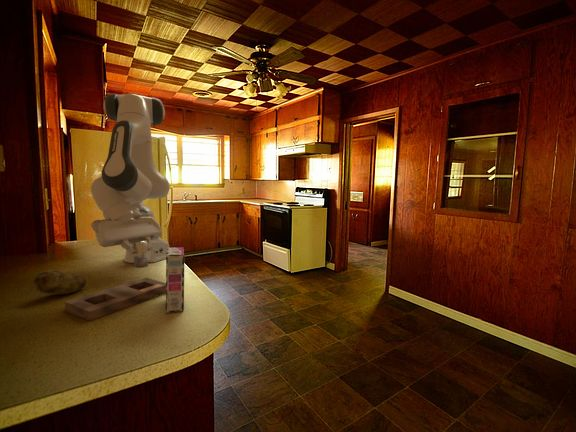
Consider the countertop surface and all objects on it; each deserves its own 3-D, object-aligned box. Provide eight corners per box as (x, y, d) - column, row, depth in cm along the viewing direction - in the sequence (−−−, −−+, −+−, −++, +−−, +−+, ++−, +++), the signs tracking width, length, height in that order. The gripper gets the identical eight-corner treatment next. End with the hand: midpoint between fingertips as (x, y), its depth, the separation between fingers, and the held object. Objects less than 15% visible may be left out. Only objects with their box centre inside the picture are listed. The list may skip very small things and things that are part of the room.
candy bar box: (184, 311, 83) (184, 254, 81) (165, 313, 81) (165, 255, 79) (184, 296, 93) (183, 246, 92) (166, 298, 91) (166, 246, 90)
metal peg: (142, 263, 96) (142, 239, 96) (150, 265, 95) (150, 241, 94) (131, 266, 93) (130, 241, 92) (139, 268, 91) (139, 242, 90)
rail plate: (146, 284, 103) (146, 277, 103) (170, 291, 98) (169, 283, 97) (65, 310, 81) (64, 300, 81) (90, 320, 76) (89, 310, 75)
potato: (87, 293, 93) (86, 269, 92) (34, 302, 85) (32, 275, 84) (85, 286, 100) (84, 263, 99) (35, 293, 92) (34, 268, 91)
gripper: (92, 213, 86) (113, 251, 83) (153, 210, 104) (172, 240, 101) (84, 227, 89) (104, 264, 85) (145, 221, 107) (163, 251, 103)
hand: (142, 251), depth 93 cm, fingers closed on metal peg, 4 cm apart
